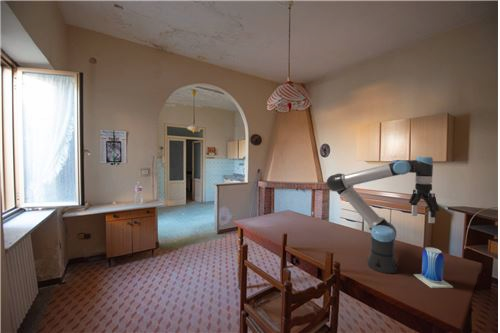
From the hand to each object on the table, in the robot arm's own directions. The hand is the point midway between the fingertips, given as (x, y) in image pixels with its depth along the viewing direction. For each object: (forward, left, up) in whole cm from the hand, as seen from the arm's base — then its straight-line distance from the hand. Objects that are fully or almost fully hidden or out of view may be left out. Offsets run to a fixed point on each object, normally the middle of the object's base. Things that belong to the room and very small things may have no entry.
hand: (422, 219), depth 123 cm
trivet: (-5, -14, -29) cm, 33 cm away
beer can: (-5, -13, -29) cm, 32 cm away
